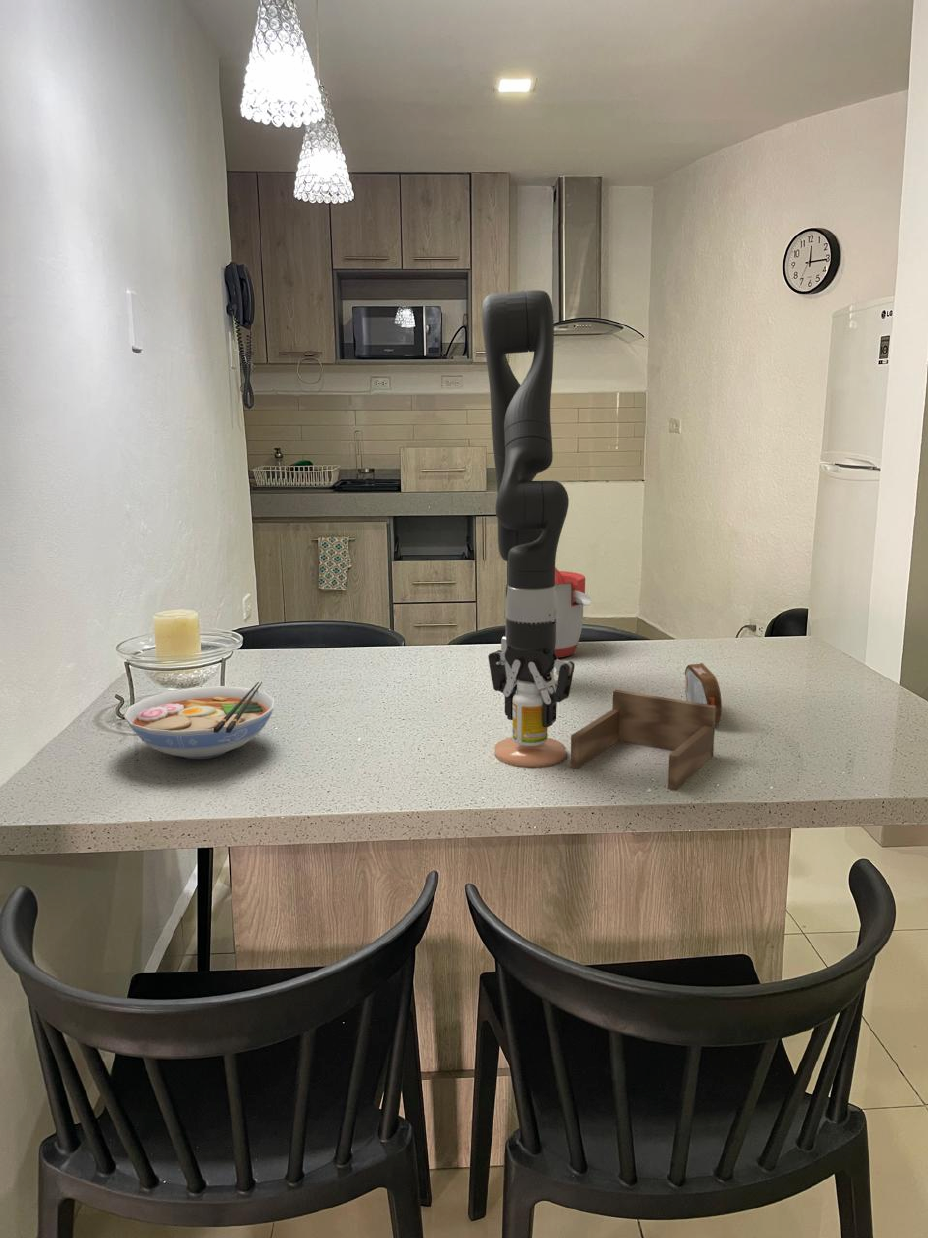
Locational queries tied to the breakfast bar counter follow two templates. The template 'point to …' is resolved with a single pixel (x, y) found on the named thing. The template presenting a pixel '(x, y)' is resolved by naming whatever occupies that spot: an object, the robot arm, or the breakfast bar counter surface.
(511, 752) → the coaster
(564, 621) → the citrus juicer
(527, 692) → the supplement bottle
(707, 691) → the tin
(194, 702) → the ramen bowl
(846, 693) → the breakfast bar counter surface
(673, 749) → the cubby
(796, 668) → the breakfast bar counter surface
